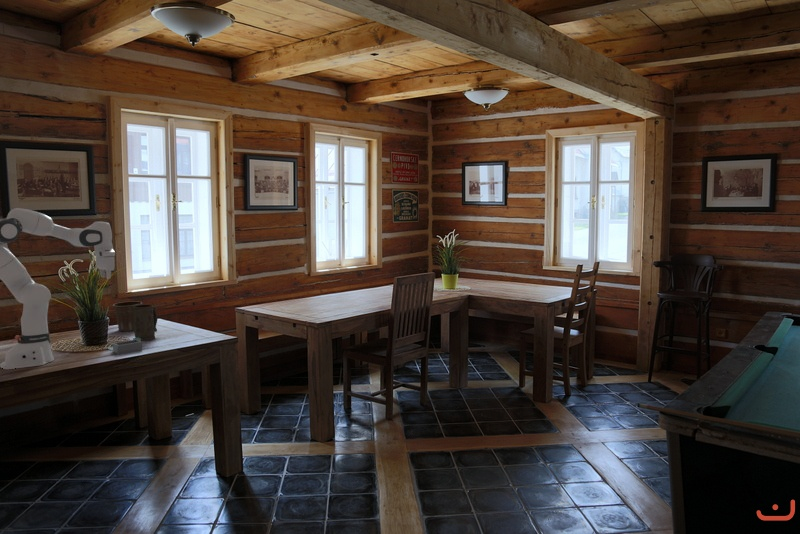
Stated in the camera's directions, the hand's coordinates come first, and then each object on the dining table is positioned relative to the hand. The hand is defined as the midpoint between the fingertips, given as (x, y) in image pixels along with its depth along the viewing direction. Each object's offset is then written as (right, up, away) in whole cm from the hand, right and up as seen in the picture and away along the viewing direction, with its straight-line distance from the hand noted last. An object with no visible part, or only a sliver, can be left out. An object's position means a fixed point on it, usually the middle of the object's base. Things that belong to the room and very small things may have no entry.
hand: (105, 278), depth 329 cm
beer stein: (+14, -35, +21) cm, 43 cm away
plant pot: (-8, -32, +48) cm, 58 cm away
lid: (+10, -37, 0) cm, 39 cm away
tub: (+15, -38, -8) cm, 42 cm away
